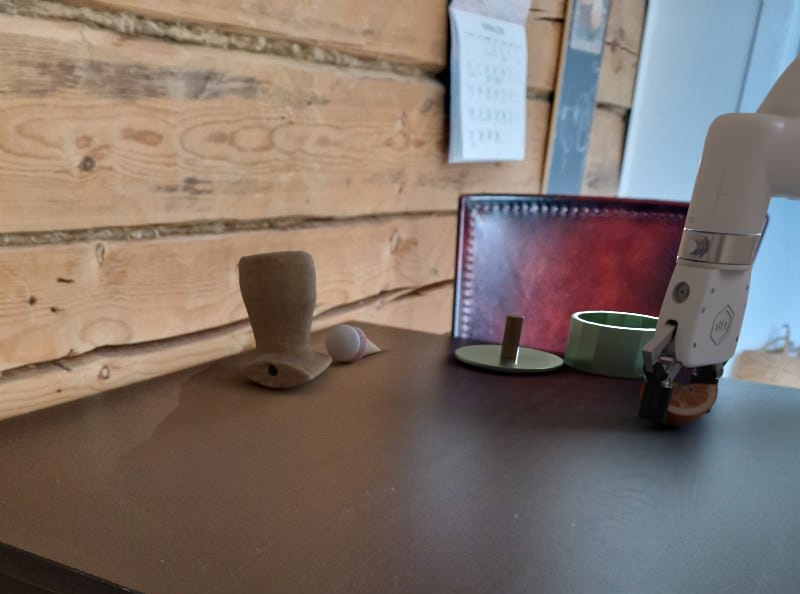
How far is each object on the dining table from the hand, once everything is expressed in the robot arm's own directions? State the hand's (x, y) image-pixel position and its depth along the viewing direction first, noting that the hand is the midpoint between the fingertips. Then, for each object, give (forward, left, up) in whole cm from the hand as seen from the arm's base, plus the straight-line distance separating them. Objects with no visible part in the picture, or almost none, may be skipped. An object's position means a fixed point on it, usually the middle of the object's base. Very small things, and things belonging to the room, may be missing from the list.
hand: (674, 415), depth 99 cm
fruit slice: (0, 0, -1) cm, 1 cm away
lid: (-6, -31, -1) cm, 32 cm away
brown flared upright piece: (+29, -38, -1) cm, 48 cm away
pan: (-20, -23, -1) cm, 31 cm away
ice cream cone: (+13, -43, -1) cm, 45 cm away
